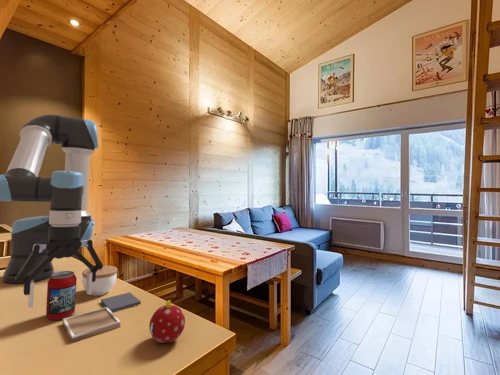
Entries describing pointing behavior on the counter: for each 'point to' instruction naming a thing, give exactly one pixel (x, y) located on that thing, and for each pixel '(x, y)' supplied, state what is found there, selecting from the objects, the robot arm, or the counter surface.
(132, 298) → the pad
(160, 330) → the christmas ornament
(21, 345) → the counter surface
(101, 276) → the lidded jar
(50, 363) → the counter surface
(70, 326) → the board
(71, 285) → the beverage can
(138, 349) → the counter surface
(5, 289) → the counter surface
